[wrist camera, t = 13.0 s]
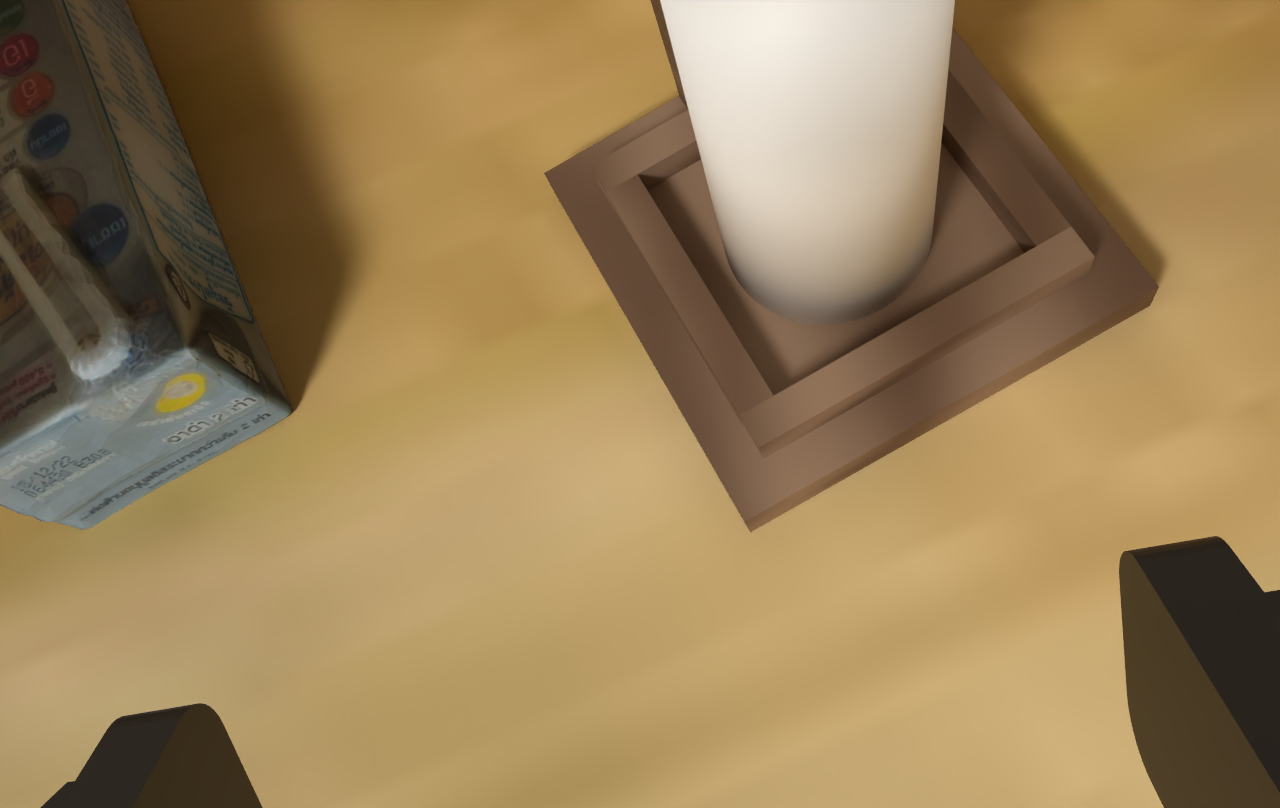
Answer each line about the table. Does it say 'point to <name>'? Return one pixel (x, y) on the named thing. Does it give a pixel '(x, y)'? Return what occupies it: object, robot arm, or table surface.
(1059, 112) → the table surface
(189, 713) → the robot arm
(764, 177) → the paper roll
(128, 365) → the beverage carton
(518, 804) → the table surface
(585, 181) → the walnut holder
